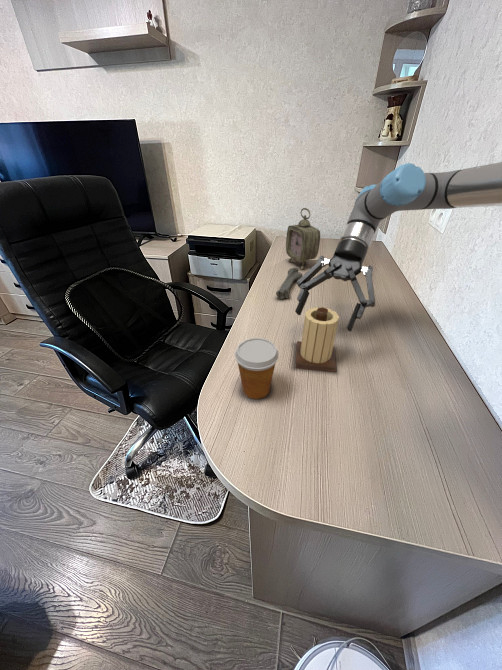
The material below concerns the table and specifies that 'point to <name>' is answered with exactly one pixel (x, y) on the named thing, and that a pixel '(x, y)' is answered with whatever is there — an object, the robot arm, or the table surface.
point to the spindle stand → (305, 364)
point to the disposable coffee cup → (256, 366)
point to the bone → (288, 283)
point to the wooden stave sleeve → (318, 336)
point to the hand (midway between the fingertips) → (322, 321)
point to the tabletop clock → (302, 241)
